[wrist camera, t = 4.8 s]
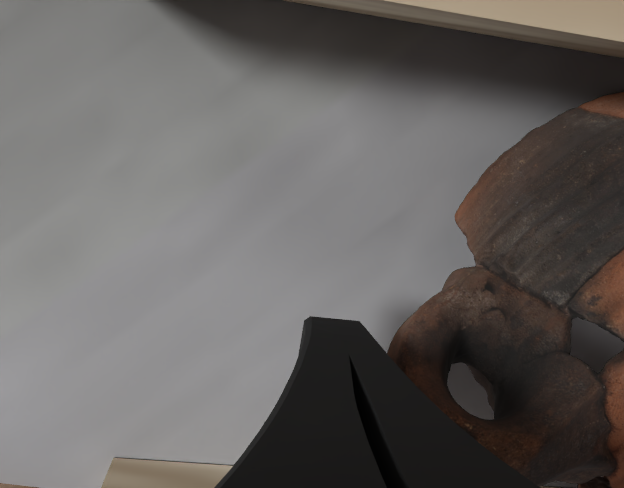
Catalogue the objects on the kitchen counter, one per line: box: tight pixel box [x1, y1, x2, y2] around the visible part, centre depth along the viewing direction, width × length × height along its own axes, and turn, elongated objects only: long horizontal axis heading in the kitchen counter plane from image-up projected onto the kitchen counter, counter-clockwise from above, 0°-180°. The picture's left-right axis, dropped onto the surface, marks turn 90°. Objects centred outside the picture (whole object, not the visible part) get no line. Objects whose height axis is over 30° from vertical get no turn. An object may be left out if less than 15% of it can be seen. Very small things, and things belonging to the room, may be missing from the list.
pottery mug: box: [387, 92, 624, 488], centre depth 12 cm, size 12×10×8 cm
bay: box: [101, 0, 624, 488], centre depth 13 cm, size 17×22×4 cm
